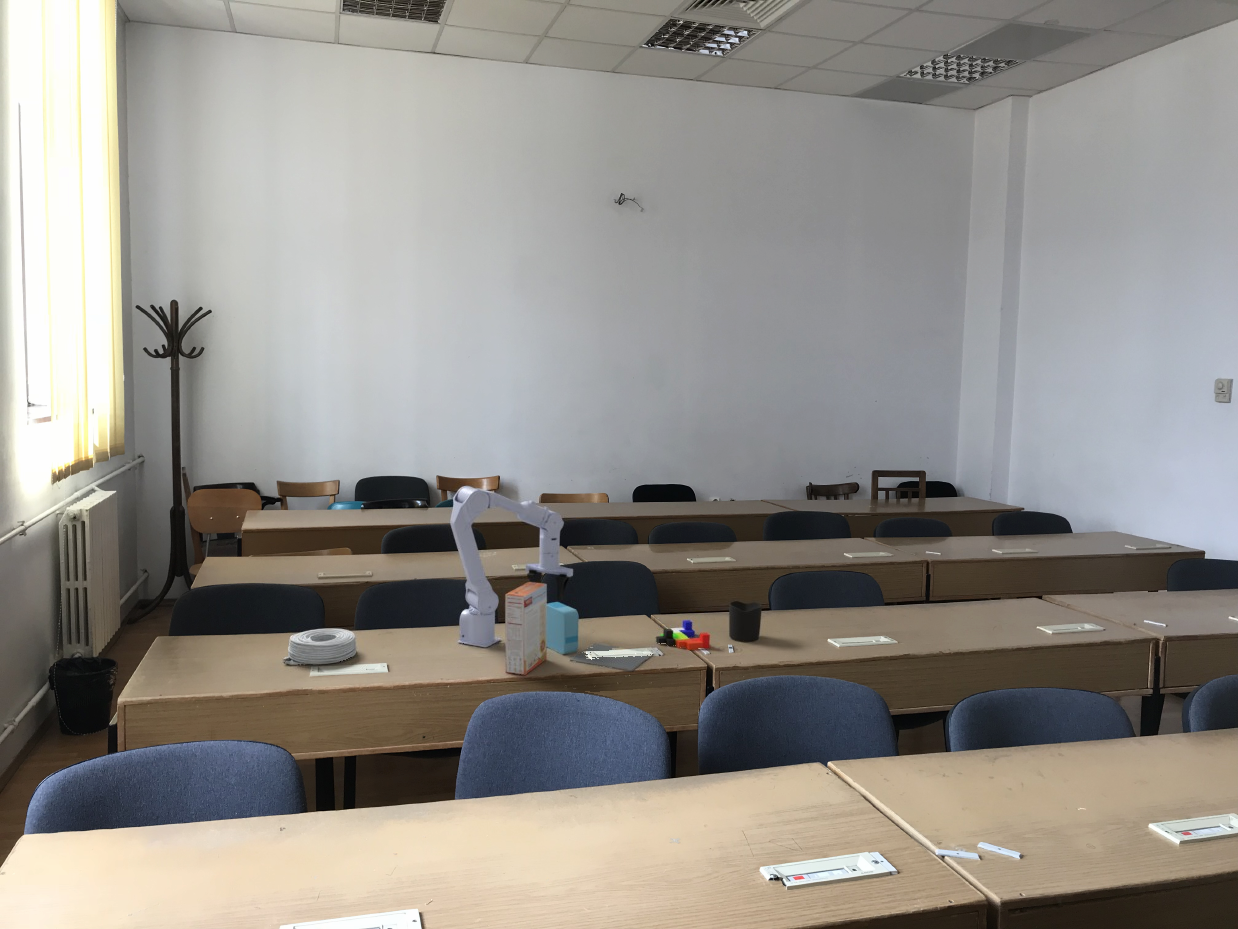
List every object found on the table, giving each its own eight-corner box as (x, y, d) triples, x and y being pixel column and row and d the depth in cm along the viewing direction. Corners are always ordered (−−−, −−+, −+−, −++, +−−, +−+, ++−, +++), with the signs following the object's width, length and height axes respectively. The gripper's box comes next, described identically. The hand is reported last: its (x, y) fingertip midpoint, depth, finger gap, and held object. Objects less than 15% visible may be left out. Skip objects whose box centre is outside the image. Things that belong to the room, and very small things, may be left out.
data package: (578, 653, 258) (579, 610, 257) (564, 656, 256) (565, 613, 254) (555, 641, 268) (555, 600, 267) (541, 644, 265) (541, 602, 264)
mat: (569, 660, 252) (569, 659, 252) (594, 644, 266) (594, 643, 266) (631, 671, 245) (631, 670, 245) (654, 653, 259) (654, 652, 259)
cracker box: (526, 656, 254) (527, 580, 252) (547, 659, 252) (548, 583, 250) (503, 673, 241) (504, 593, 239) (524, 676, 239) (525, 595, 237)
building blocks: (648, 637, 276) (648, 622, 275) (689, 634, 280) (689, 620, 279) (666, 653, 262) (667, 637, 261) (709, 649, 266) (710, 634, 265)
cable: (278, 667, 243) (278, 644, 242) (299, 645, 260) (299, 624, 259) (347, 668, 243) (347, 645, 242) (363, 646, 260) (363, 625, 260)
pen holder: (744, 644, 269) (746, 610, 268) (721, 636, 277) (722, 603, 276) (767, 639, 275) (768, 605, 274) (743, 631, 283) (745, 598, 281)
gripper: (578, 552, 275) (577, 597, 276) (534, 546, 280) (533, 591, 282) (566, 556, 268) (566, 603, 270) (522, 551, 274) (521, 596, 276)
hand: (548, 597), depth 276 cm, fingers open, 7 cm apart
